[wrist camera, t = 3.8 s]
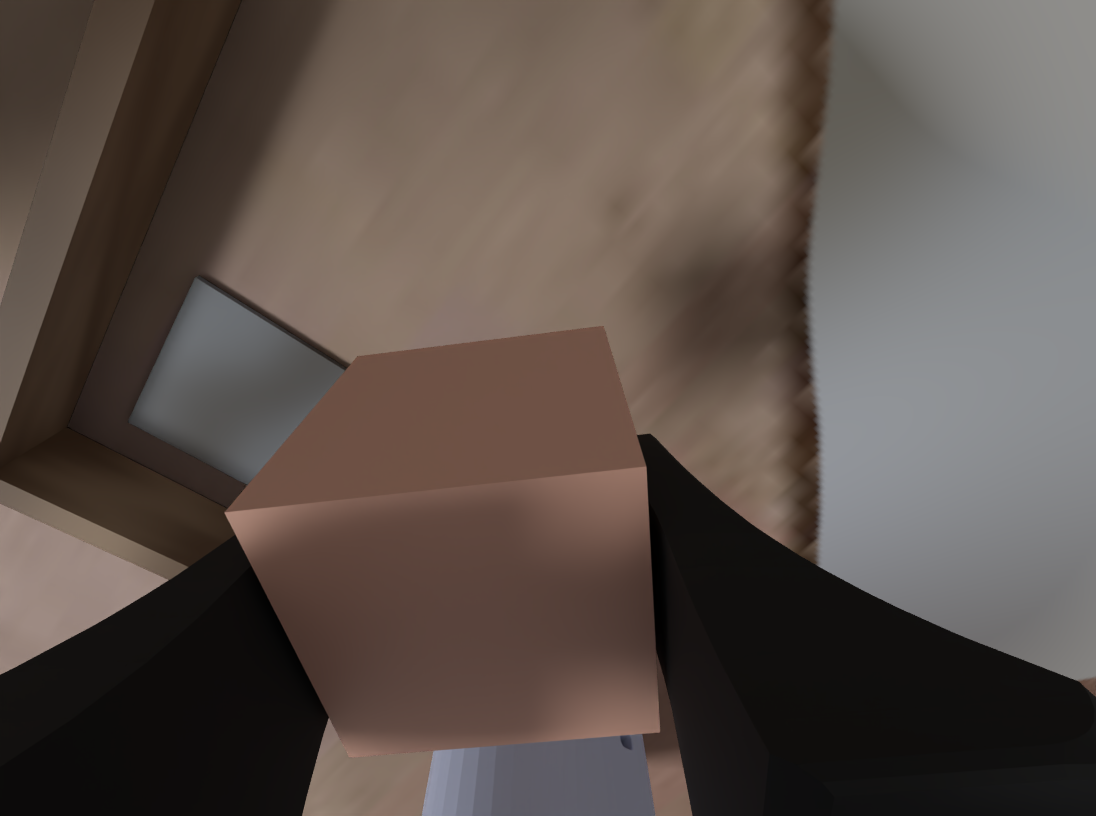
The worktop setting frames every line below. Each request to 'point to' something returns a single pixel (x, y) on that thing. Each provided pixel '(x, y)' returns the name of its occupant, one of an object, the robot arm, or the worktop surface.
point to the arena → (95, 288)
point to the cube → (465, 547)
